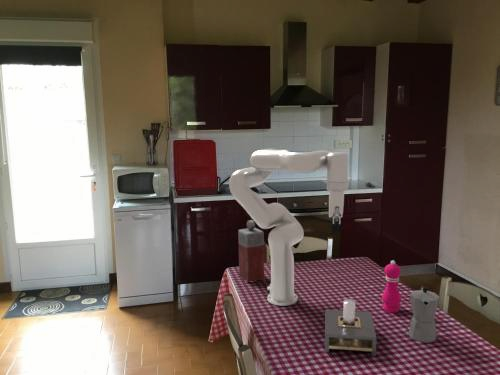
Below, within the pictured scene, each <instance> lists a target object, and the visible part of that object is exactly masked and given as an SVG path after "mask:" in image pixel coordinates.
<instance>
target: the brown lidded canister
mask: <svg viewBox="0 0 500 375" xmlns="http://www.w3.org/2000/svg"><path fill="white" fill-rule="evenodd" d="M237 233H238V268H239V271H238V272H239V273H238V274H239V275H238V277H239V276H241V277H242V278H243V279H244V280H246V281H247V282H250V281H255V280H261V281H263V280H262V279H264V280H265V264H268V248H267V244H266V241H265V239H264V238H265V235H264V231H263V230H261V229H259V228H256V222H255V221H254V220H253V219H250V220H247V222H246V228H241V229H238V232H237ZM244 280H243V281H244Z"/></svg>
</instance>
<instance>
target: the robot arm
mask: <svg viewBox="0 0 500 375" xmlns="http://www.w3.org/2000/svg"><path fill="white" fill-rule="evenodd" d="M249 158H250V160H249V162H250V165H251V166H250V167H246V168H240V169H237V170H236V171H234V172H232V173H231V176H230V177H229V180H228V185H229V186H228V188H229V191H230V193H231V196H232V197H233V198H234V200H235V201H236V202H237V203H238V204H239V205H240V206H241V207H242V208H243V209H244V210H245V211H246V213H247V214H248V215H249V216H250V218H251V220H253V221H254V223H255V224H256V225H257V226H258V227H259V228H260V229H262V230H267V229H271V228H272V229H271V231H270V232H269V233H268V237H267V241H268V242H267V243H268V247H269V252H270V253H269V255H270V256H269V257H270V284H268V285H269V286H267V287H266V290H268V291H269V294H268V295H267V298H266V299H267V301H268V303H270V304H271V305H275V306H278V307H281V306H282V307H286V306H291V305H294V304H296V303H297V302H298V300H299V298H298V295H297V294H296V293H295V260H294V258H295V257H294V253H293V250H292V246H294V245H296V244H298V243H299V242H301V241H302V240H303V238H304V235H305V234H304V228H303V226H302V225H301V223H300V222H299V221H298V219H296V217H295V216H294V215H293V214H292V213H291V212H290V211H289V210H288V209H287V207H286V206H284V205H283V204H281V203H280V202H272V203H267V202H266V201H265V200H264V199H263V198H262V196H260V195H259V194H258V193H257V192H255V191H254V190H252V188H254V187H259V186H261V185H262V184H264V182H266V180H267V179H268V178H269V177H271V175H272V174H273V173H274V172H286V173H295V174H296V173H297V174H301V173H302V174H311V173H312V174H313V173H317V172H321V171H324V170H325V171H326V191H329V194H328V217H329V219H330V218H331V235H332V236H333V235H335V236H340V235H341V234H342V224H341V218H343V214H344V205H345V204H344V203H345V192H347V191H348V187H349V186H348V185H349V182H348V181H349V180H348V179H349V154H348V153H347V152H344V151H329V150H325V149H321V150H313V151H309V152H291V151H290V150H289V149H275V148H263V149H258V150H256V151H254V152H253V153H251V156H250V157H249ZM273 227H274V228H273Z"/></svg>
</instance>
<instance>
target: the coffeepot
mask: <svg viewBox="0 0 500 375" xmlns="http://www.w3.org/2000/svg"><path fill="white" fill-rule="evenodd" d="M409 296H410V303H411V304H410V306H411V307H410V308H411V312H412V313H413V314H412V318H411V322H410V326H409V329H408V332H407V333H408V336H409V337H410V338H411V339H412V340H414V341H416V342H420V343H426V344H427V343H429V344H430V343H433V342H435V341H436V340H437V337H438V334H437V326H436V320H435V316H436V314H437V310H438V306H439V302H440V296H439V295H438V294H437V293H436V292H432V291H429V290H428V287H427V286H426V285H421V287H420V289H419V290H418V289H417V290H413V291H412V292H411V293H410V294H409Z"/></svg>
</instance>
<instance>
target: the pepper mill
mask: <svg viewBox="0 0 500 375" xmlns="http://www.w3.org/2000/svg"><path fill="white" fill-rule="evenodd" d="M401 272H402V270H401V267H400V266H399V265H398V264H396V261H395V260H390V263H389V264H387V265H385V268H384V274H385V280H386V287H385V288H384V291H383V293H382V296H381V299H382V300H381V301H382V302H383V304H382V309H383V311H385V312H386V313H391V314H392V313H398V312H400V309H401V306H400V304H401V302H402V296H401V292H400V291H399V287H398V283H399V281H400V277H399V276H400V275H401Z"/></svg>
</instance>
